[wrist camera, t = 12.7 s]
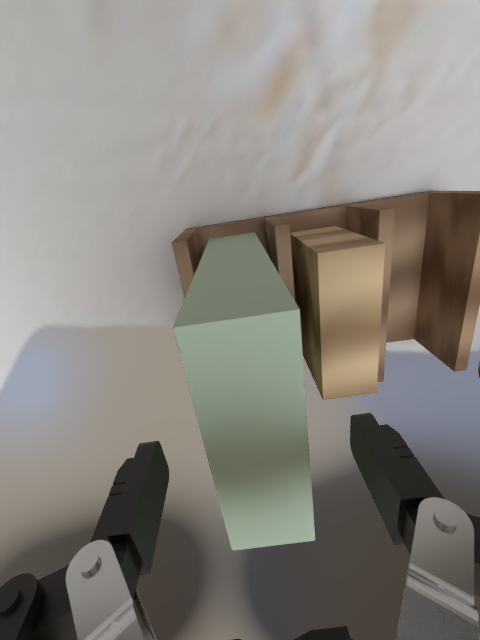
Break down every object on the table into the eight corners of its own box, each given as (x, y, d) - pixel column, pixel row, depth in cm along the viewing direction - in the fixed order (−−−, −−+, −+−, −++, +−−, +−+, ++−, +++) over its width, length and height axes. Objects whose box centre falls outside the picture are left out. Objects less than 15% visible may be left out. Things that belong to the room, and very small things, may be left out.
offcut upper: (300, 241, 22) (317, 253, 17) (355, 232, 21) (385, 243, 17) (308, 366, 26) (323, 400, 22) (353, 360, 26) (376, 392, 22)
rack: (186, 228, 27) (171, 242, 20) (430, 190, 26) (502, 191, 19) (214, 359, 32) (210, 405, 26) (415, 330, 32) (466, 369, 25)
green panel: (209, 238, 26) (172, 327, 9) (254, 231, 26) (299, 309, 9) (230, 356, 31) (232, 550, 14) (268, 350, 30) (315, 540, 14)
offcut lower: (289, 232, 26) (300, 241, 22) (335, 225, 26) (355, 232, 21) (297, 342, 30) (308, 366, 26) (336, 336, 30) (353, 360, 26)
